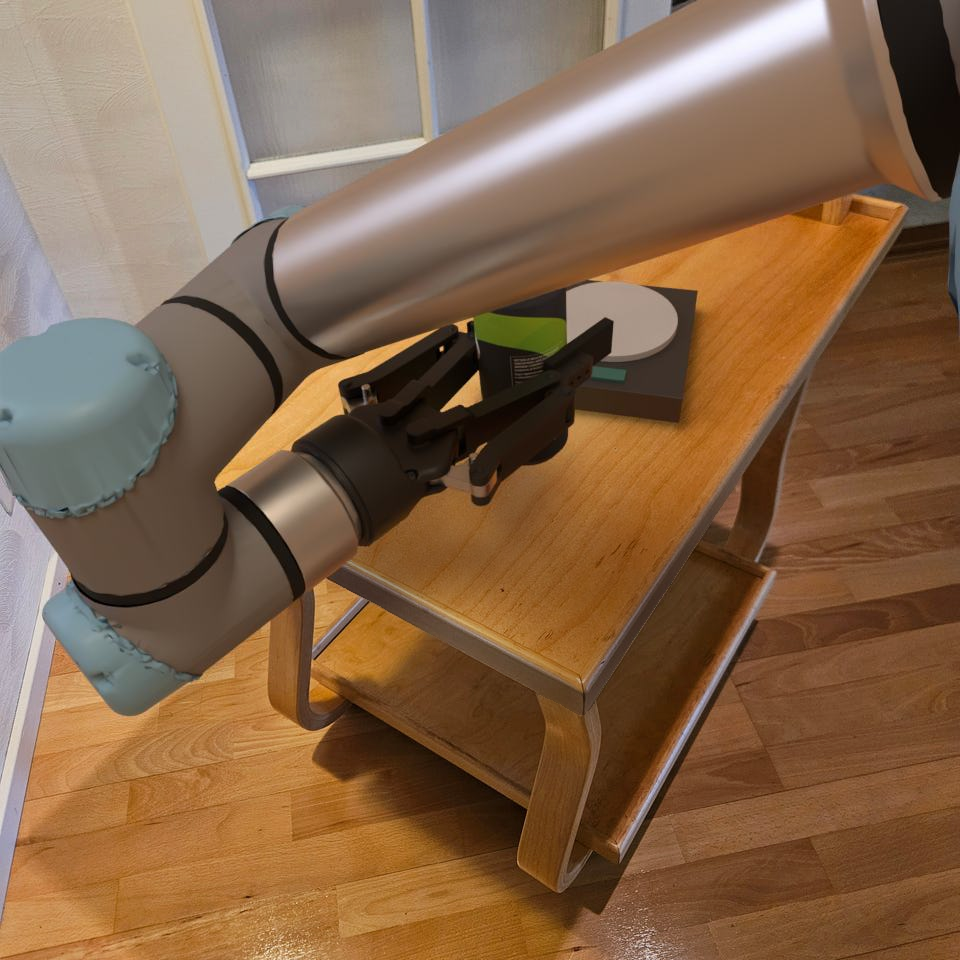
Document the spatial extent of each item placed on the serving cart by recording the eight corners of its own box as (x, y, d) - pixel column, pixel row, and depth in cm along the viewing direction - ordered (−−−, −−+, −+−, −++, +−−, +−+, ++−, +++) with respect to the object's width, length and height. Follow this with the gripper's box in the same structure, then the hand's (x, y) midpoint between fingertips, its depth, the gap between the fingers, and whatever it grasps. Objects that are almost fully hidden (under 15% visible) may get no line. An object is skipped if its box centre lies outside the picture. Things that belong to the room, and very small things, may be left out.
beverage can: (582, 430, 64) (582, 252, 53) (544, 480, 60) (536, 299, 50) (511, 409, 66) (499, 235, 56) (471, 456, 62) (449, 279, 52)
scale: (694, 314, 90) (698, 283, 87) (678, 423, 78) (683, 391, 75) (548, 299, 93) (549, 269, 90) (512, 401, 81) (511, 370, 78)
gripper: (254, 474, 55) (494, 319, 67) (432, 620, 46) (675, 413, 58) (223, 387, 50) (490, 234, 61) (418, 533, 41) (689, 323, 52)
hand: (579, 321), depth 59 cm, fingers closed on beverage can, 4 cm apart
